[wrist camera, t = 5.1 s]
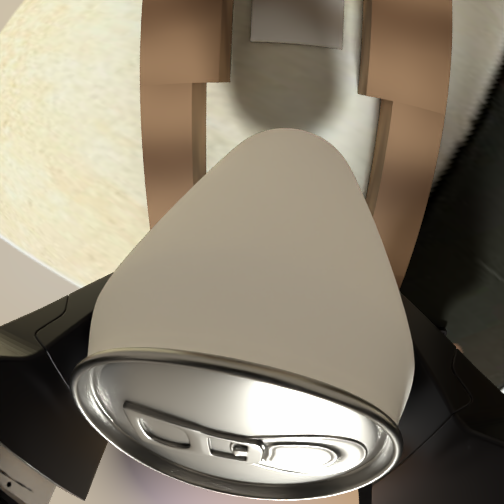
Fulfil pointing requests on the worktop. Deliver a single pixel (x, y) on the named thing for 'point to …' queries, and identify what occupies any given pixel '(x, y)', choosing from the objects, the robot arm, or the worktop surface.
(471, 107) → the worktop surface
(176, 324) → the can
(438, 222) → the worktop surface
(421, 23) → the keyhole plate
